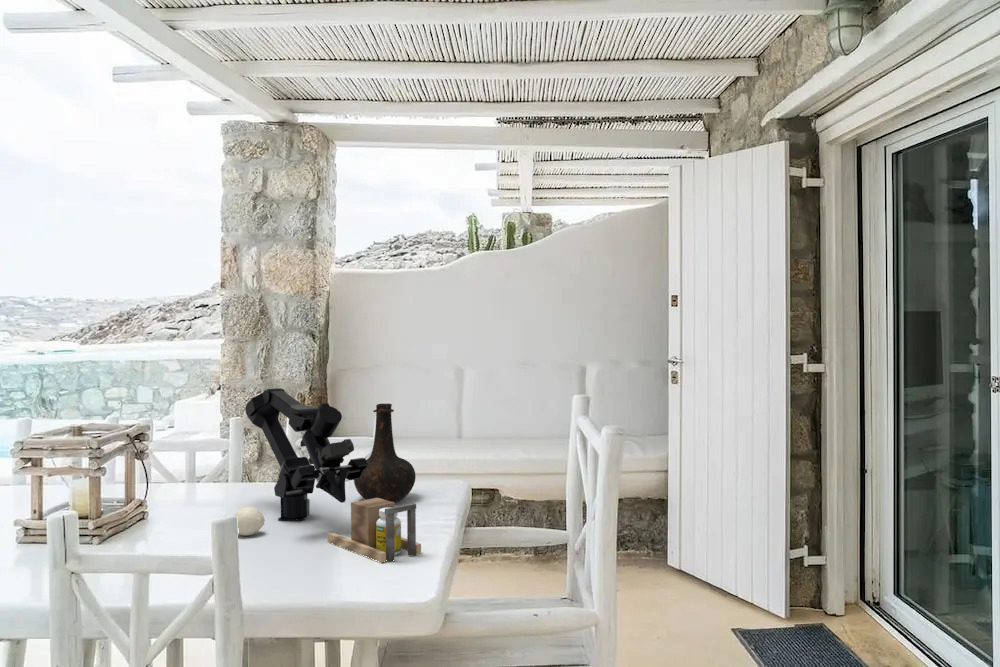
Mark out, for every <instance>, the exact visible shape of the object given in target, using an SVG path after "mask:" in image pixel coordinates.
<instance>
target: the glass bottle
mask: <svg viewBox="0 0 1000 667" xmlns="http://www.w3.org/2000/svg"><path fill="white" fill-rule="evenodd" d="M392 406H393V404H392V403H378V404H376V405H375V408H376V409H374V410H372V412H374V413H376V416H375V431H374V439H373V445H372V450H371V453H370V456H369V457H367V458H366V460H367V462H368V464H369V466H368V468H367V469H366V471H365V472H364V474H363V475H362V477H361V478H359V479H355V480H353V484H354V487H355V489H356V491H357V493H358V494H359V495H360V496H361V497H362V498H363V500H367V499H373V498H380V499H384V500H387V501H391V502H394V503H395V502H398V501H401V500H403V499H404V498H405V497H407V496H408V495H409V494H410V492H411V491H412V490H413V487H414V486H415V482H416V471H415V468H414V466H413V465H412V464H411V463H410V461H408V460H407V459H404V458H402V457H399V456H398V455H397V453H396V449H395V445H394V436H393V424H392V422H393V421H392V419H393V418H392V413H393V412H395V410H394V409H393V408H392Z"/></svg>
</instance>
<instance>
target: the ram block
mask: <svg viewBox="0 0 1000 667" xmlns="http://www.w3.org/2000/svg"><path fill="white" fill-rule="evenodd" d="M390 507H391V508H392V507H396V504H395V502H391V501H387V500H384V499H380V498H373V499H367V500H366V499H363V500H357V501H353V502H350V539H351V540H353V541H356V542H359V543H362V544H364V545H367V546H370V547H372V548H375V549H376V522H377V520H378V519H379V518H380V516H379V510H380V509H382V508H390Z"/></svg>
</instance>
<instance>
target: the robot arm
mask: <svg viewBox="0 0 1000 667" xmlns="http://www.w3.org/2000/svg"><path fill="white" fill-rule="evenodd" d="M244 410H245V415H246V416H247V418H248V419H249V421H250V422H251V424H252V425H253V426H256V427H258V428H260V429H261V430H262V432H263V434H264V436H265V438H266V441H267V442H268V444H269V446H270V449H271V451H272V452H273V454H274V457H275V458H276V460H277V464H279V466H280V469H279V472H278V473H279V474H278V479H277V482H276V483H275V486H273V487H274V488H273V490H274V495H275V496H276V497H279V498H280V517H278V521H281V522H284V521H285V522H286V521H287V522H288V521H290V522H291V521H293V522H294V521H295V522H297V521H298V522H299V521H304V520H305V519H306V518H308V517H309V516H310V515H311V514H310V512H311V511H310V509H311V505H310V498H308V495H309V494H313V492H314V489H315V487H316V489H321V490H322V491H324V492H325V493H327V494H328V495H330V496H331V497H332V498H334V499H335V500H337V501H338V502H339V503H345V502H346V499H347V498H346V479H347V480H348V481H354V480H355V479H359V478H361V477H362V475H363V474H364V472H365V471H366V469H367V468H368V466H369V464H368V462H367V458H365V457H358V458H351V459H350V460H349V462H348V463H347V464H346V465H341V464H343V462H344V461H345V458H344V457H346V456H349V455H350V454H351V453H352V452H354V451H355V446H354V443H353V442H352V439H351V438H348V439H347V438H346V439H344V440H342V441H337V442H332V443H331V441H330V440H329V438H330V437H332V436H333V435H334V433H335V431H336V429H337V428H338V426H339V425H340V422H342V418H343V416H342V413H341V411H340V410H338V409H337V408H335V407H334V406H330V404H329V402H325V403H322V402H321V403H320V404H319V406H318V407H316V406H313V405H307V404H303V403H300V402H299V401H298V400H296V398H294V397H292V396H291V395H290V394H288V393H287V392H286V391H285V389H284V388H281V387H275V388H267V389H264V391H262V392H261V393H260V394H258V395H256V396H254V397H252V398H251V399H250V400H249V401H248V402H247V403H246V405H245V409H244ZM280 414H282V415H284V416H285V417H286V418H287V419H288V425H289V426H290V427H291V429H292V430H293V431H294V432H295V433H298V432H304V434H303V435H302V437H301V438H302V439H301V441H300V444H299V445H300V447H302V448H303V447H305V448H306V451H307V453H308V455H309V457H310V458H308V457H306V456H301V457H298V454H296V451H295V449H294V447H293V445H292V442H290V440H289V437H288V435H287V434H286V432H285V430H284V428H283V427H282V424H281V422H280V420H279V417H280ZM315 481H316V482H317V483H316V482H315ZM315 483H316V485H315Z"/></svg>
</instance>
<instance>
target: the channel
mask: <svg viewBox="0 0 1000 667" xmlns="http://www.w3.org/2000/svg"><path fill="white" fill-rule="evenodd" d="M416 510H417V503H407V504H402V505H399V506H398V505H397V506H395V507H392V508H387V509H385V514H386V552H383V551H380V550H378V549H375V548H372V547H370V546H367V545H364V544H362V543H359V542H356V541H353V540H351V538H348V537H346V536H345V537H344V536H343V535H340V534H337V533H334V532H328V533H327V534H326V535H327V536H326V537H327V538H326V540H327V543H328V542H330V543H329V544H331V543H333V544H335V545H334V546H336V545H338V546H341V547H343V548H342V549H344V548H345V549H344V550H346V549H348V550H347V551H349V550H350V551H349V552H351V551H353V552H352V553H354V552H356V553H358V554H357V555H359V554H361V555H364V556H367V557H369V558H372V559H374V560H377V561H379V562H384V561H386V560H387V561H393V560H395V559H396V558H395V556H396V555H395V553H394V513H402V512H403V513H404V512H406V514H407V515H406V518H407V519H406V520H407V521H406V522H407V523H406V524H407V528H406V529H407V532H406V534H407V535H406V536H407V538H404V537H402V536H401V548H402V549H401V550H404V549H405V551H407V556H408V555H415V556H416V555H417V554H416V553H419V554H421V553H422V543H420V542H417V541H416V540H417V538H416V537H417V535H416V532H417V527H416V525H417V523H416V522H417V521H416V520H417V519H416V517H417V516H416V512H417V511H416ZM333 544H332V545H333ZM338 546H337V547H338ZM341 547H340V548H341ZM356 553H355V554H356ZM361 555H360V556H361ZM364 556H363V557H364ZM369 558H368V559H369ZM372 559H371V560H372ZM374 560H373V561H374ZM377 561H376V562H377ZM387 561H386V562H387ZM379 562H378V563H379ZM393 562H394V561H393ZM384 563H385V562H384Z"/></svg>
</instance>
